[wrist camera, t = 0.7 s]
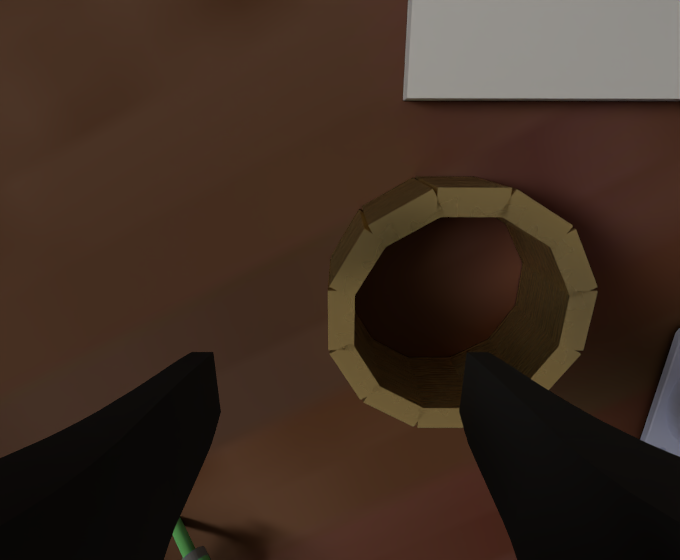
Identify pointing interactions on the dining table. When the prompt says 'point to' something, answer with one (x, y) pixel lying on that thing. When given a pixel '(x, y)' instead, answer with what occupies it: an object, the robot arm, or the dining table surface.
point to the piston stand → (542, 50)
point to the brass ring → (511, 335)
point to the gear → (188, 544)
